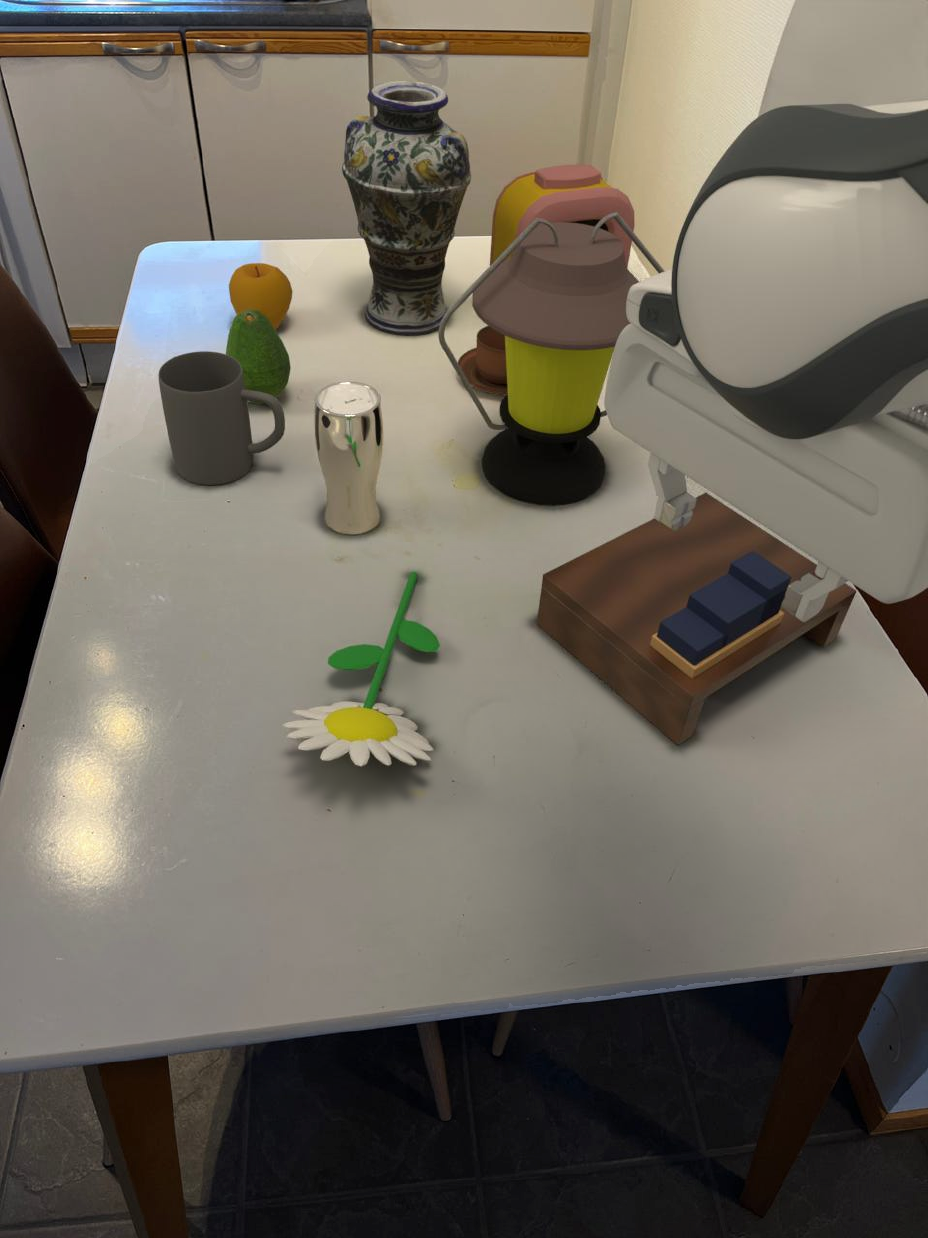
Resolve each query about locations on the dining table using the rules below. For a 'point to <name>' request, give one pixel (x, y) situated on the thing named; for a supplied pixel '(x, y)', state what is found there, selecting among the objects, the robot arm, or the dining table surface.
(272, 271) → the apple
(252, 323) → the fruit
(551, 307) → the lantern
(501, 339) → the cup and saucer
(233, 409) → the mug
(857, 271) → the robot arm
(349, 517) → the beer glass
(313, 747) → the decorative flower
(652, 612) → the brown wooden stand
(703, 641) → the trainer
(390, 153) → the vase
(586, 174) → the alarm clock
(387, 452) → the dining table surface
